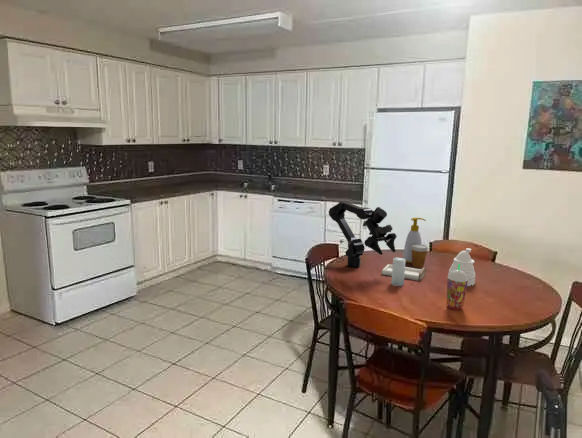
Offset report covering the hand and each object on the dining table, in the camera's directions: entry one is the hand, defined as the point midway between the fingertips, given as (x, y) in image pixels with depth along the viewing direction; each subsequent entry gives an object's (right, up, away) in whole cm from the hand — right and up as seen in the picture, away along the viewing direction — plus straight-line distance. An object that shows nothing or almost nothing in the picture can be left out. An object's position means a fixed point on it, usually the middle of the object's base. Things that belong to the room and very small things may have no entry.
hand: (388, 253), depth 218 cm
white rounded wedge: (+4, -15, -4) cm, 16 cm away
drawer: (+11, -12, +11) cm, 20 cm away
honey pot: (+38, -15, +2) cm, 41 cm away
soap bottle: (+23, -8, +36) cm, 43 cm away
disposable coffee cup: (+23, -10, +27) cm, 36 cm away
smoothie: (+22, -21, -32) cm, 44 cm away
